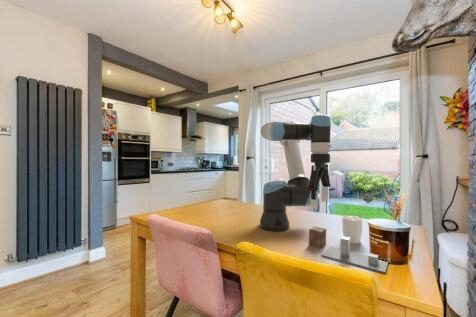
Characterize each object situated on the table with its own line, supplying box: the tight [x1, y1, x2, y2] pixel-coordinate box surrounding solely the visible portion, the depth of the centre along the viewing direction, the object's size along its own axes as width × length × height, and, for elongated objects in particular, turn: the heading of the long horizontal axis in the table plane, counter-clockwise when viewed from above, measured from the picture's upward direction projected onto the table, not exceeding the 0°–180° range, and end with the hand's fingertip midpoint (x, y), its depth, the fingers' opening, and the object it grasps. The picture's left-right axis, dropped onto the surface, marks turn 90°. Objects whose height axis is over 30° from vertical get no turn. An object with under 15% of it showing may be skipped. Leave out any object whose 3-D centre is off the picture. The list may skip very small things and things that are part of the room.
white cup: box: [341, 214, 363, 244], centre depth 101 cm, size 8×8×10 cm
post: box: [340, 235, 351, 257], centre depth 85 cm, size 3×3×7 cm
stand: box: [320, 246, 389, 275], centre depth 83 cm, size 20×10×3 cm, turn 51°
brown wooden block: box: [308, 225, 327, 249], centre depth 97 cm, size 5×5×7 cm
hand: (319, 204), depth 97 cm, fingers open, 13 cm apart
